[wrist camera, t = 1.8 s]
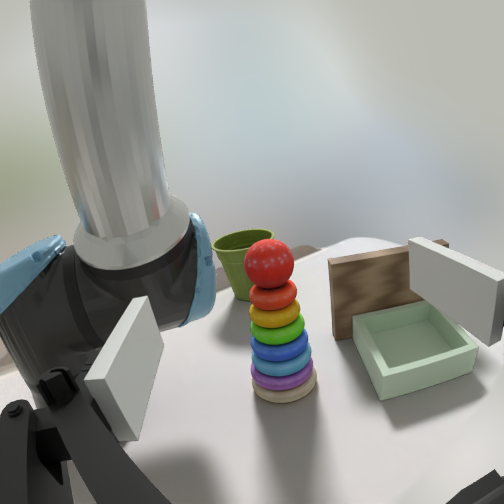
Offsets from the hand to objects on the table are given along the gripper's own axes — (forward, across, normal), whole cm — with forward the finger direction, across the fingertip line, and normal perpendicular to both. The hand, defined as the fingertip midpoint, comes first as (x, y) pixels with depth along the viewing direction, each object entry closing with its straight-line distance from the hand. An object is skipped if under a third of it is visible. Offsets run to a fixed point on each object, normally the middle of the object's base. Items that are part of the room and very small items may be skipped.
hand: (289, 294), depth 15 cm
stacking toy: (+18, 0, -20) cm, 28 cm away
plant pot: (+46, -1, -18) cm, 49 cm away
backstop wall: (+25, +18, -20) cm, 37 cm away
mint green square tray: (+17, +17, -21) cm, 32 cm away
